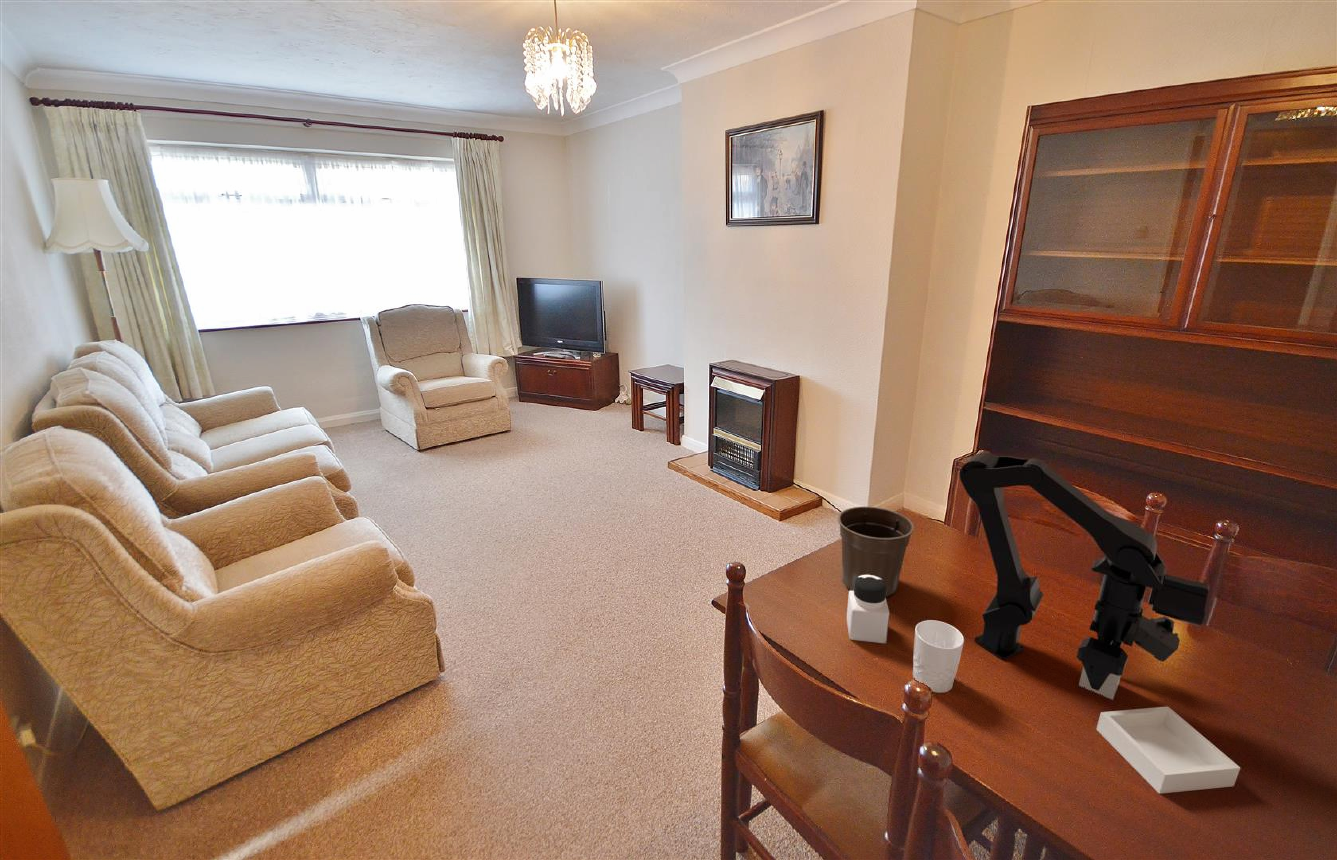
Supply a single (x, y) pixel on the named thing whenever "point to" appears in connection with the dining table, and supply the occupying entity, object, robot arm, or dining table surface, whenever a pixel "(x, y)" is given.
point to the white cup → (936, 654)
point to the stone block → (1106, 689)
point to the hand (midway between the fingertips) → (1100, 675)
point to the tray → (1167, 750)
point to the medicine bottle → (868, 610)
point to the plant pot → (873, 544)
